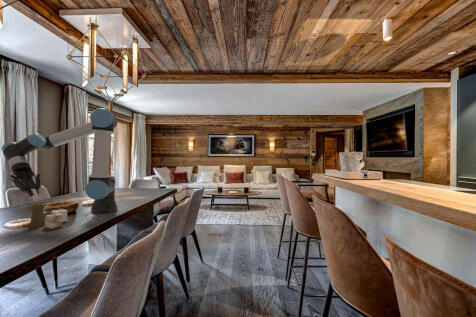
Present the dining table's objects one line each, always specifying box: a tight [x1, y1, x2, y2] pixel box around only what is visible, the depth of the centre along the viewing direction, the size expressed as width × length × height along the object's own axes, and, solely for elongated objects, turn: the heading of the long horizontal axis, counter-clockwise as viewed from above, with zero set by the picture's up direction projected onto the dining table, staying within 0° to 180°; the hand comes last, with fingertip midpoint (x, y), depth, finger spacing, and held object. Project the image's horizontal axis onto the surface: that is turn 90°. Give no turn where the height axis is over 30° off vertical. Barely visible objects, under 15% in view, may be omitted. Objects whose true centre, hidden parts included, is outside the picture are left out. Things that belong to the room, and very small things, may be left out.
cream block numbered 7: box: [50, 209, 68, 223], centre depth 125 cm, size 5×5×6 cm
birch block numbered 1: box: [44, 213, 63, 229], centre depth 116 cm, size 5×5×6 cm
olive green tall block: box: [29, 203, 45, 228], centre depth 117 cm, size 6×6×11 cm
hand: (37, 200), depth 117 cm, fingers closed
